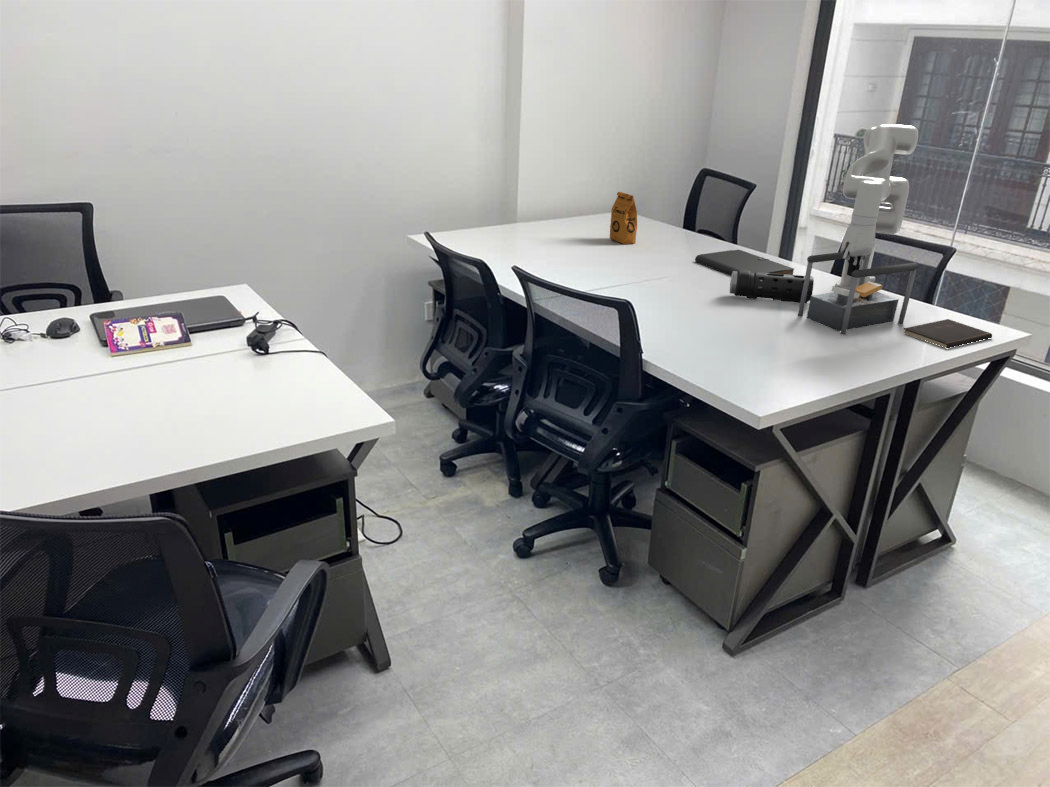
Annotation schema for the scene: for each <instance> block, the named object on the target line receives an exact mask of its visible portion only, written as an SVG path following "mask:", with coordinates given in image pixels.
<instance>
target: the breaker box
mask: <svg viewBox="0 0 1050 787" xmlns="http://www.w3.org/2000/svg"><path fill="white" fill-rule="evenodd" d="M899 300H900V299H899V298H896V297H893V296H890V295H887V294H884V293H881V292H879V291H877V292H875V293H872V294H870V295H868V296H866V297H862V296H859V298H855V297H854V298H853V303H852V307H851V312H850V317H849V321H848V326H847V330H854V329H859V328H865V327H866V328H867V327H869V326H876V325H881V324H889V323H893V322H894V320H895V316H896V312H897V308H898V304H899ZM847 301H848V296H845V295H841V294H838V293H836V292H833V291H832V292H827V293H819V294H812V296H811V298H810V301H809V304H808V310H807V314H806V319H808V320H811V321H813V322H815V323H817V324H820V325H822V326H825V327H827V328H829V329H832V330H833V331H836V332H841V328H842V324H843V319H844V315H845V310H846V305H847ZM847 330H846V331H847Z"/></svg>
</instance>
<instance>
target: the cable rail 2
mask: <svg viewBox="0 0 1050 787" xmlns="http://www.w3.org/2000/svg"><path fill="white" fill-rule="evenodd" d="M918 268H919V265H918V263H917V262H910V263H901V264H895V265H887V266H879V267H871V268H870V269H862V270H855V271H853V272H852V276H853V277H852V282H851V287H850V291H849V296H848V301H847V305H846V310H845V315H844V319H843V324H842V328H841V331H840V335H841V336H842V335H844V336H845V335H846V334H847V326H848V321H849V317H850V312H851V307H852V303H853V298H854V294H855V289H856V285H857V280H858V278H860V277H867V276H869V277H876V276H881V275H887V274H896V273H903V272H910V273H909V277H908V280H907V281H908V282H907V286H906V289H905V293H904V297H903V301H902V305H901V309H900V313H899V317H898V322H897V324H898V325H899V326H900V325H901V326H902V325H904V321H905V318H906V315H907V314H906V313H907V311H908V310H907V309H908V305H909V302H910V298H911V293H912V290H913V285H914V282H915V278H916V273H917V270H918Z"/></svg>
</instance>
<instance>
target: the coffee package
mask: <svg viewBox="0 0 1050 787" xmlns="http://www.w3.org/2000/svg"><path fill="white" fill-rule="evenodd" d="M616 195H617V197H616V198H615V201H614V203H613V205H612V207H611V213H610V214H611V216H610V226H609V239H611V240H612V241H615V242H617V243H618V244H619V243H620V244H623V245H632V244H633V245H634V244H636V241H637V230H638V211H637V210H638V209H637V205H636V201H635V199H634V195H632V194H628V193H627V192H622V191H618V192H616Z"/></svg>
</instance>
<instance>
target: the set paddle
mask: <svg viewBox="0 0 1050 787" xmlns="http://www.w3.org/2000/svg"><path fill="white" fill-rule="evenodd" d="M830 291H831V292H832V293H833V292H836V293H838V294H841V295H845V296H849V291H850V290H849V289H844V288H839V287H836V286H832V287H831V290H830ZM859 295H860V293H858V292H855V294H854V297H855V298H859Z"/></svg>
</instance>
